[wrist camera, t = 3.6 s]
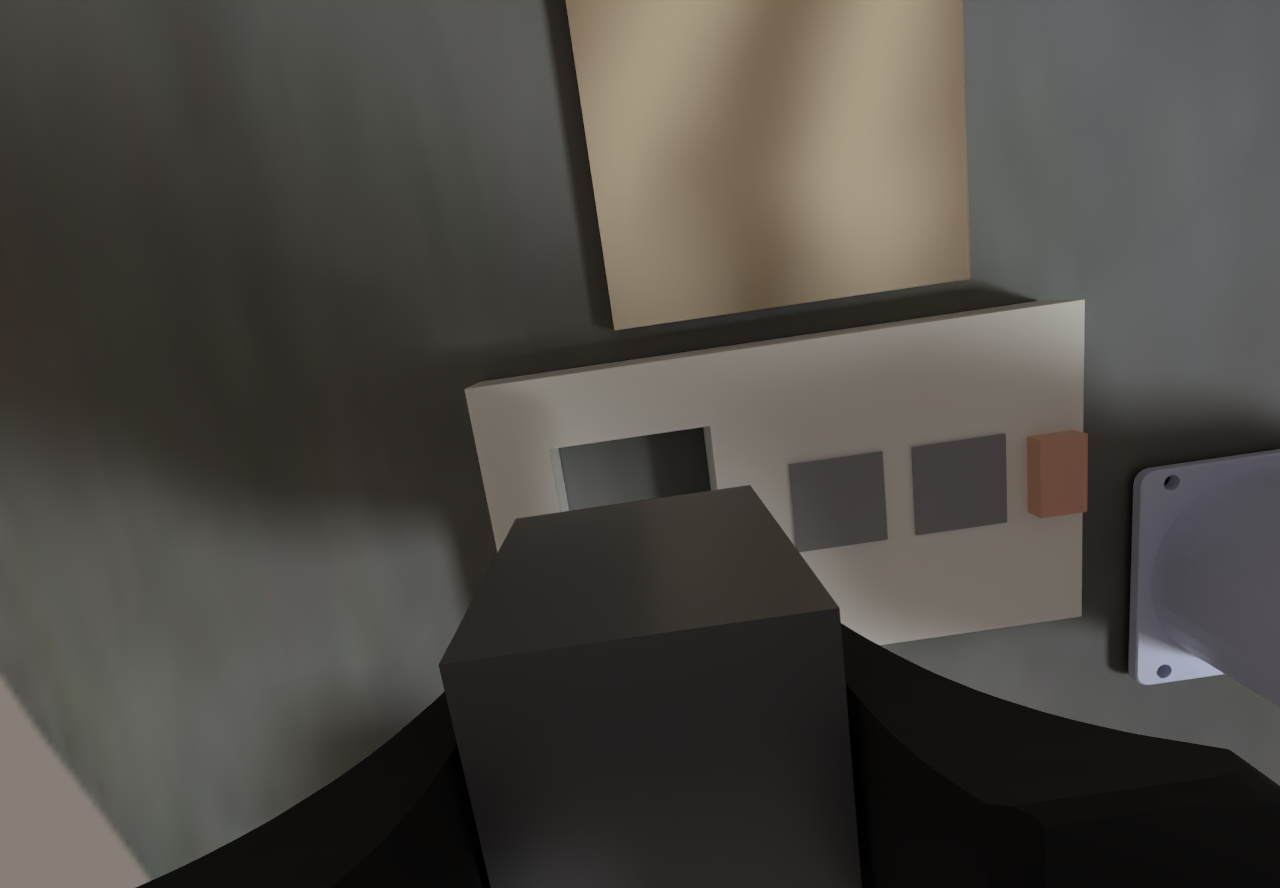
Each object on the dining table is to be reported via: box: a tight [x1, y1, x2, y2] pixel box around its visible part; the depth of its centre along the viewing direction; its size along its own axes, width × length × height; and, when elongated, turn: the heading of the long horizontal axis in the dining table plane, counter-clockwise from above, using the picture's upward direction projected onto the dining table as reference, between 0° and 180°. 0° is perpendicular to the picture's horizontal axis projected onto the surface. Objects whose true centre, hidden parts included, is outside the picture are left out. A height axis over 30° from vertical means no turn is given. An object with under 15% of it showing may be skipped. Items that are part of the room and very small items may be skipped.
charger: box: [439, 485, 862, 888], centre depth 11 cm, size 4×6×8 cm
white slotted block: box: [464, 299, 1088, 645], centre depth 20 cm, size 18×10×3 cm, turn 98°
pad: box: [566, 0, 970, 331], centre depth 18 cm, size 11×11×1 cm
